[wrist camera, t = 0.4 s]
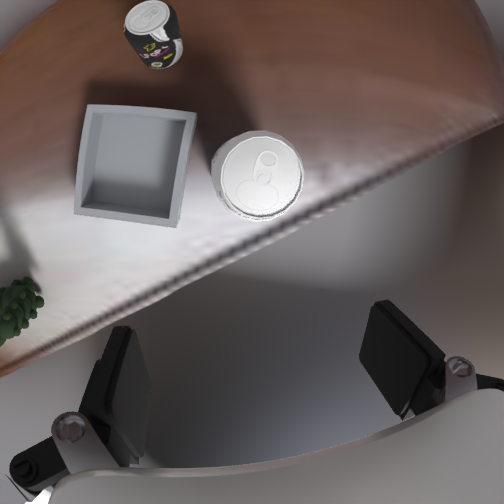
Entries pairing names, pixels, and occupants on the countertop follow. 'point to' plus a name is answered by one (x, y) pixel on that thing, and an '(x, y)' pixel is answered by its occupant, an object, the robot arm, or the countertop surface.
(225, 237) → the countertop surface
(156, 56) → the beverage can
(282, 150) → the supplement can
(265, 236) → the countertop surface
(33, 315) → the toy figurine
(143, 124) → the tray
